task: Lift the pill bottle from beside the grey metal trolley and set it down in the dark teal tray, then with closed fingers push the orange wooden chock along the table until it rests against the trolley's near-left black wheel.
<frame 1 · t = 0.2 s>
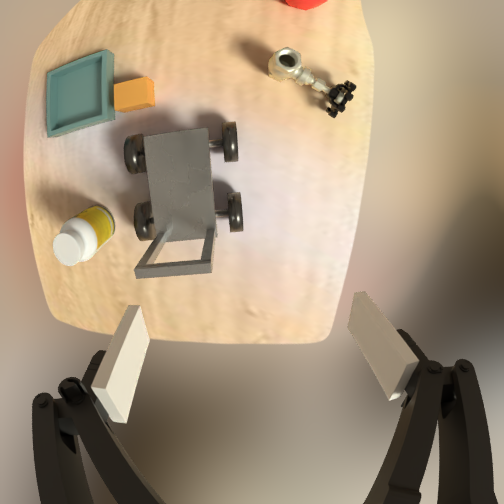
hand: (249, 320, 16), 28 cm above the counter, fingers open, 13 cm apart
pill bottle: (100, 222, 40), on the counter
tray: (82, 95, 31), on the counter
trolley: (187, 179, 39), on the counter
valve: (301, 83, 35), on the counter
chock: (138, 97, 33), on the counter
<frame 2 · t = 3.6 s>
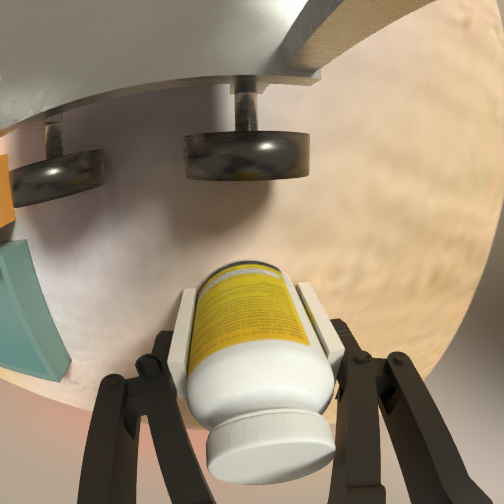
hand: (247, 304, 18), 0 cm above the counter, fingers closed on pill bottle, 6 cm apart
pill bottle: (247, 298, 18), on the counter, touching gripper
tray: (7, 304, 16), on the counter
trolley: (153, 51, 11), on the counter
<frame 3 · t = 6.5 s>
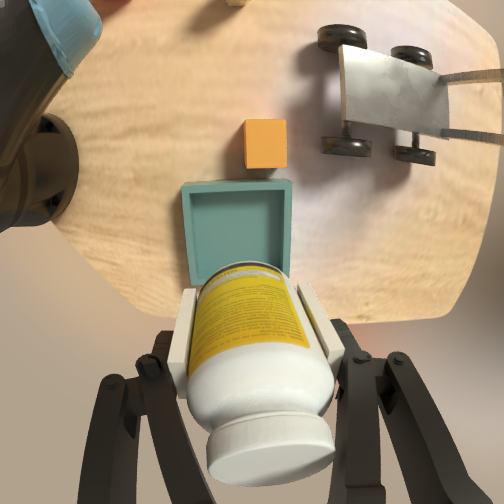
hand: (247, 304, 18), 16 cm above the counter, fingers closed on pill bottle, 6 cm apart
pill bottle: (247, 300, 18), point 16 cm above the counter, touching gripper
tray: (237, 228, 33), on the counter
trolley: (372, 99, 28), on the counter
chock: (261, 143, 29), on the counter
when the fingers open (3 cm above the counter, at t = 9.2 s): pill bottle drops 2 cm, resting on tray.
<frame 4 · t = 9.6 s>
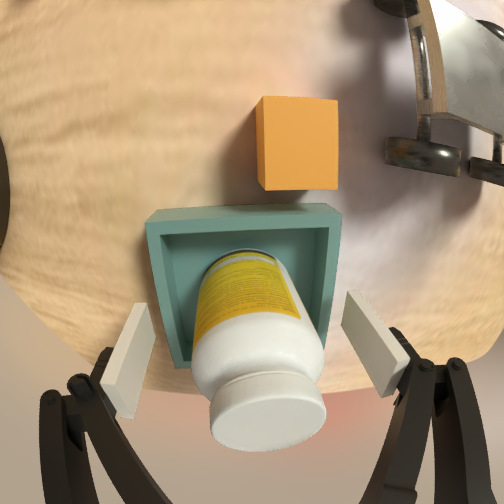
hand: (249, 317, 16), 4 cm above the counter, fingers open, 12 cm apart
pill bottle: (245, 285, 20), resting on tray
tray: (244, 282, 20), on the counter
trolley: (443, 87, 15), on the counter
chock: (286, 143, 17), on the counter
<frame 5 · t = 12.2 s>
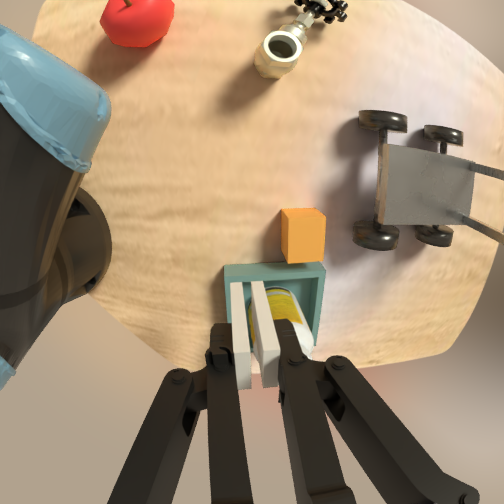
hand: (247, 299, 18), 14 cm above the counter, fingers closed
pill bottle: (272, 304, 35), resting on tray
apple: (146, 27, 21), on the counter
tray: (271, 302, 35), on the counter
trolley: (401, 178, 30), on the counter
valve: (288, 42, 23), on the counter
chock: (297, 228, 32), on the counter
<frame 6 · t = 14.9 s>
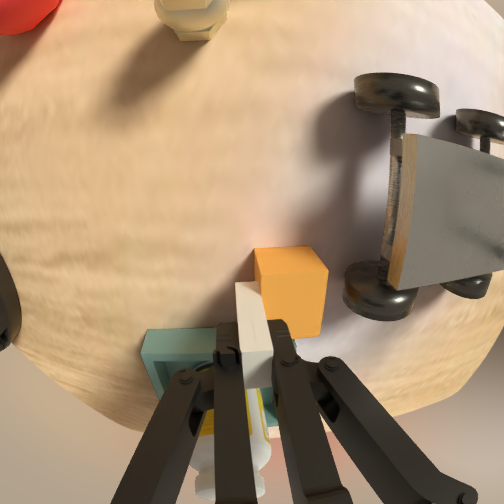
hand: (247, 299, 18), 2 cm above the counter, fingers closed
pill bottle: (223, 377, 23), resting on tray
apple: (42, 5, 9), on the counter
tray: (223, 374, 24), on the counter
trolley: (423, 192, 19), on the counter
chock: (281, 278, 20), on the counter, touching gripper
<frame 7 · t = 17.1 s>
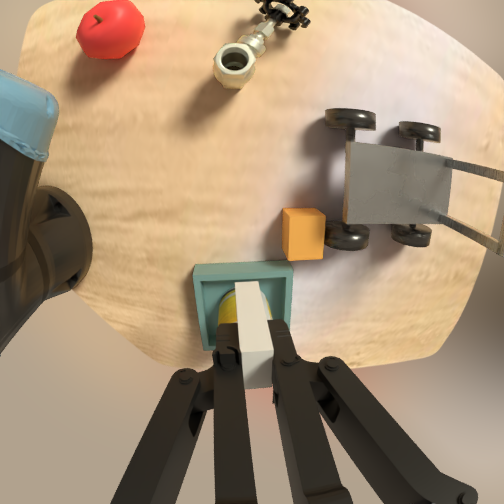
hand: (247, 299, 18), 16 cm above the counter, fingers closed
pill bottle: (243, 303, 36), resting on tray
apple: (121, 39, 22), on the counter
tray: (243, 301, 36), on the counter
trolley: (375, 177, 31), on the counter
valve: (252, 51, 25), on the counter
chock: (298, 227, 33), on the counter
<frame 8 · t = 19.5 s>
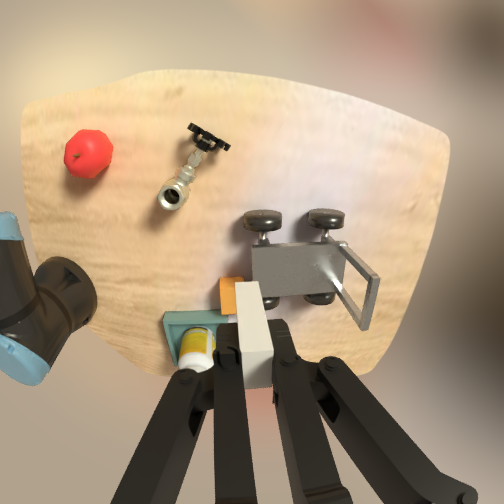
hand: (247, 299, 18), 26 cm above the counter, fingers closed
pill bottle: (199, 336, 51), resting on tray
apple: (98, 152, 37), on the counter
tray: (199, 334, 51), on the counter
trolley: (290, 252, 46), on the counter
valve: (191, 167, 40), on the counter
chock: (232, 289, 48), on the counter
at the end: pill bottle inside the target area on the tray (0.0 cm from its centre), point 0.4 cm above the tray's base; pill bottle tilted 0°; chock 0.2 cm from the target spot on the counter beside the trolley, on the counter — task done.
